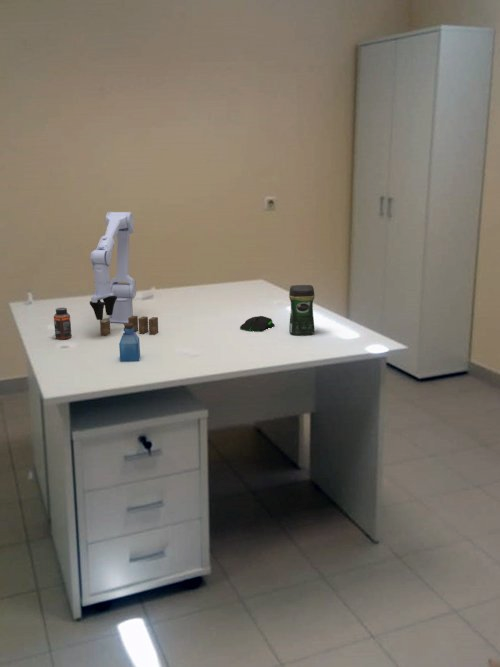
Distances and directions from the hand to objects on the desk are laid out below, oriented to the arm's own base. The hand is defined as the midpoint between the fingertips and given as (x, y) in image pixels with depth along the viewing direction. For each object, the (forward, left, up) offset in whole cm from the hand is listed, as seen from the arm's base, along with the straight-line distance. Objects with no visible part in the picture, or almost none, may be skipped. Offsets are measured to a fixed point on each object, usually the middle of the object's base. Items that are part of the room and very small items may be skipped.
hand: (104, 317), depth 271 cm
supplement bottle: (-13, -8, -7) cm, 17 cm away
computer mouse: (+53, +28, -7) cm, 60 cm away
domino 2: (+13, +7, -7) cm, 16 cm away
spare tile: (0, 0, -7) cm, 7 cm away
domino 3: (+17, +7, -7) cm, 19 cm away
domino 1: (+8, +7, -7) cm, 13 cm away
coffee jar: (+71, +23, -7) cm, 75 cm away
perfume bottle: (+23, -25, -7) cm, 35 cm away
